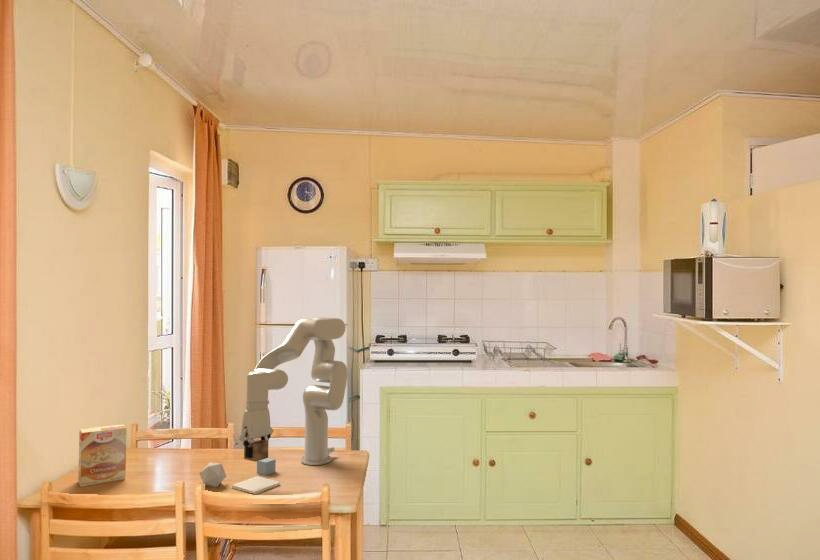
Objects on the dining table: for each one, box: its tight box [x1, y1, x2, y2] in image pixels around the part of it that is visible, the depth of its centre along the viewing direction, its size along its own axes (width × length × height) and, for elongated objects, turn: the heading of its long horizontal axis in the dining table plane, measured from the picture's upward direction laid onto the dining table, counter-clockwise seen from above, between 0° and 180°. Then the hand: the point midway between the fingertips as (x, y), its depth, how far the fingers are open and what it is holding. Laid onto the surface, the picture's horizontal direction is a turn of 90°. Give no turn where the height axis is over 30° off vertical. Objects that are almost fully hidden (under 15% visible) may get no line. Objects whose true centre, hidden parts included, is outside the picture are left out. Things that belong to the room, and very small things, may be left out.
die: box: [199, 461, 227, 488], centre depth 205 cm, size 8×9×10 cm
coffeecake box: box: [77, 423, 127, 488], centre depth 209 cm, size 15×7×20 cm, turn 126°
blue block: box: [256, 457, 277, 476], centre depth 220 cm, size 5×5×5 cm
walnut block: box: [243, 438, 269, 463], centre depth 204 cm, size 6×6×6 cm
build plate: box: [231, 475, 281, 495], centre depth 204 cm, size 12×12×1 cm
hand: (256, 455), depth 204 cm, fingers closed on walnut block, 6 cm apart
